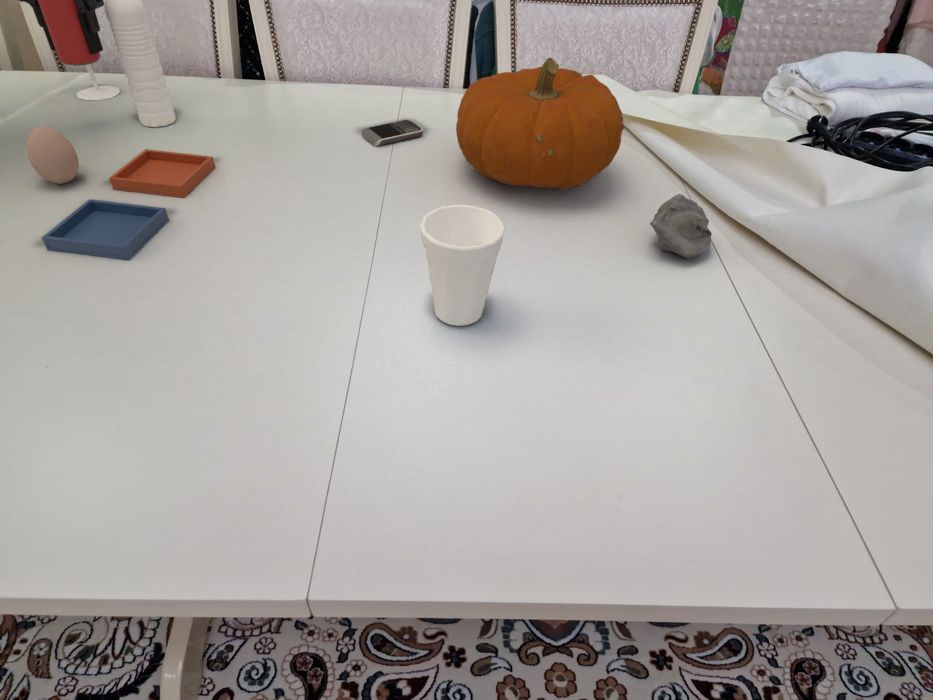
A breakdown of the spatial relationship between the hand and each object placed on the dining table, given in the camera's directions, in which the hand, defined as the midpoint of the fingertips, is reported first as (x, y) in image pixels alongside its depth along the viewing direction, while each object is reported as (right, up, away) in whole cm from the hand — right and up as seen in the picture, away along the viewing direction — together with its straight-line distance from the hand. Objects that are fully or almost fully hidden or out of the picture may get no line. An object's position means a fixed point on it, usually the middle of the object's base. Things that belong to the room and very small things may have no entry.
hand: (77, 49), depth 108 cm
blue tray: (+16, -36, -18) cm, 44 cm away
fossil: (+101, -38, -14) cm, 108 cm away
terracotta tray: (+18, -24, -5) cm, 30 cm away
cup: (+68, -48, -28) cm, 88 cm away
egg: (+3, -26, -7) cm, 27 cm away
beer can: (0, -2, +1) cm, 2 cm away
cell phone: (+54, -11, +12) cm, 57 cm away
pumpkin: (+81, -22, +3) cm, 83 cm away
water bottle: (+9, -8, +12) cm, 18 cm away
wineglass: (-9, +1, +21) cm, 23 cm away
